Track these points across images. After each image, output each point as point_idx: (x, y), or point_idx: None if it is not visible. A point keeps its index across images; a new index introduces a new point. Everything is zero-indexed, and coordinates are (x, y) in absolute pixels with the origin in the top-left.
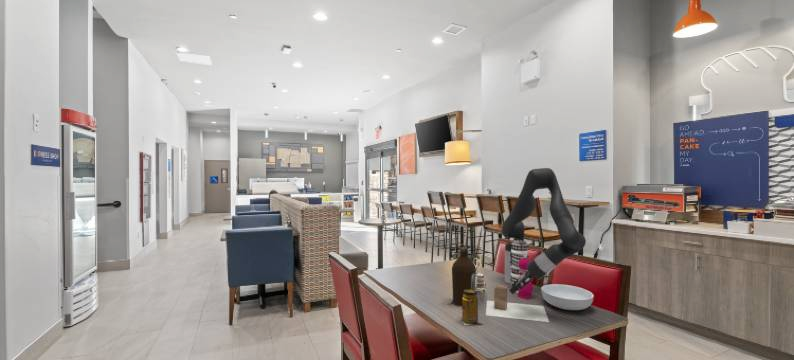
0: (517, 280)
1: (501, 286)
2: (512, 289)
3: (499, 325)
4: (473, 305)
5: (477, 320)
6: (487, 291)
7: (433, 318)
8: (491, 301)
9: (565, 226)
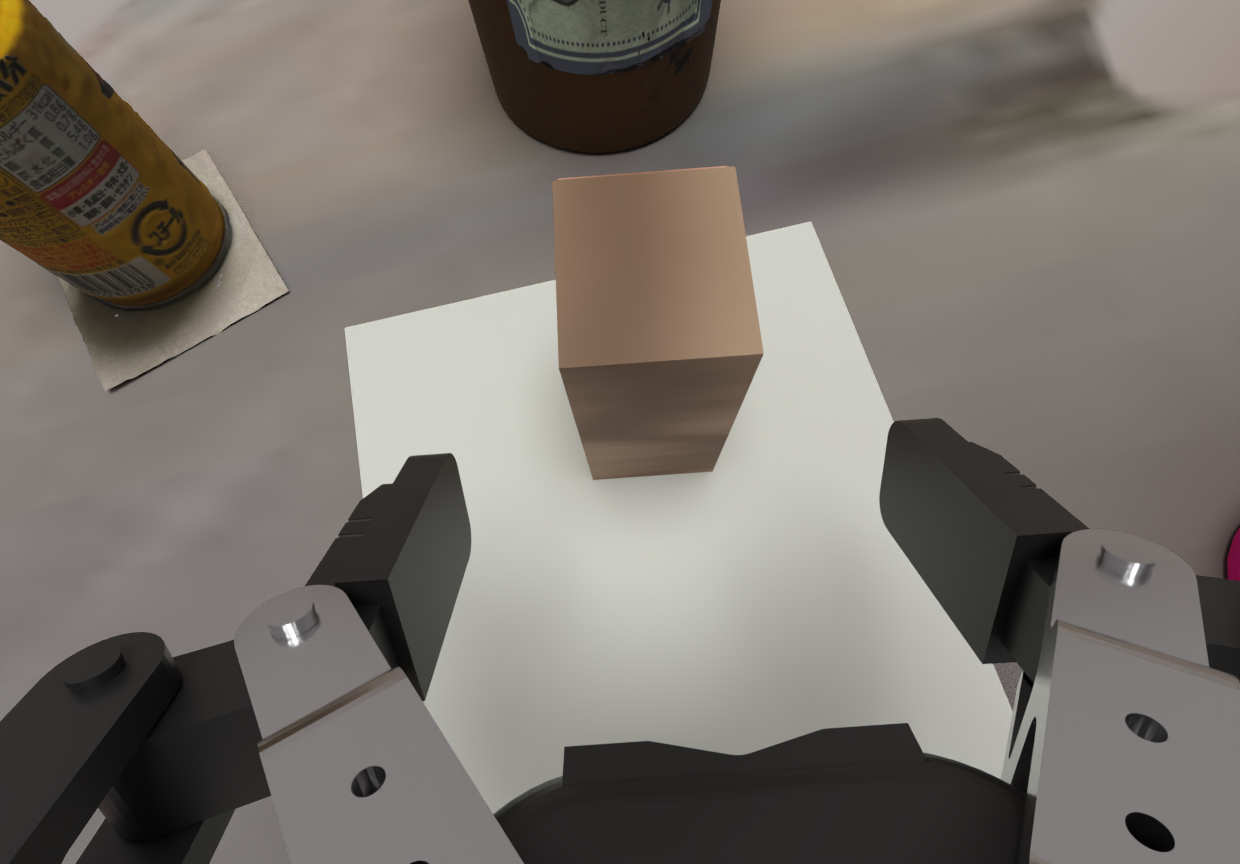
0: (994, 524)
1: (709, 255)
2: (348, 529)
3: (136, 519)
4: None
5: (122, 300)
6: (1164, 144)
7: (132, 4)
8: (813, 268)
9: None
